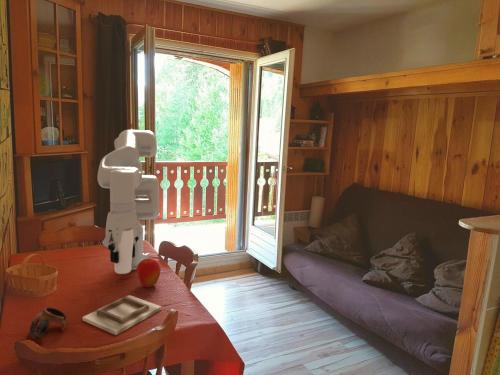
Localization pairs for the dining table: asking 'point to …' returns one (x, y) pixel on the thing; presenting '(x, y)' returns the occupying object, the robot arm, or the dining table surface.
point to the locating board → (121, 314)
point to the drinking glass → (125, 252)
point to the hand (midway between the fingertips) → (122, 258)
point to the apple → (148, 272)
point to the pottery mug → (46, 321)
